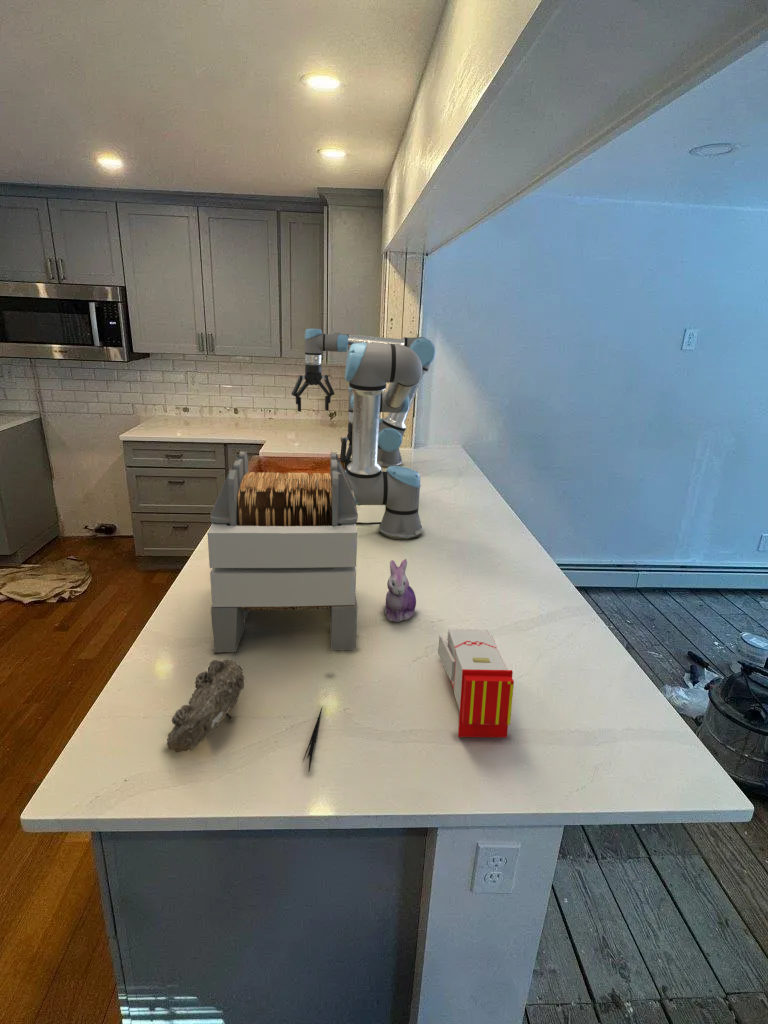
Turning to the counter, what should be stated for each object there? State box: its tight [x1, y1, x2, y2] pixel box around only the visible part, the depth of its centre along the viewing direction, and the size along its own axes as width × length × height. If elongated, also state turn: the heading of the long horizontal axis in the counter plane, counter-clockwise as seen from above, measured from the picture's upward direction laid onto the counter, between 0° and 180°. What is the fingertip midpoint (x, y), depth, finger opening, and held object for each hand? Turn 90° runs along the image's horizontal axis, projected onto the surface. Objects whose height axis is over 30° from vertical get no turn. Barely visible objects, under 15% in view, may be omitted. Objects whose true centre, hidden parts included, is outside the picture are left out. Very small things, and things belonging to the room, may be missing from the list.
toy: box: [437, 628, 515, 738], centre depth 117 cm, size 12×13×30 cm
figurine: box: [384, 558, 417, 623], centre depth 145 cm, size 9×10×15 cm
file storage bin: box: [206, 450, 359, 654], centre depth 137 cm, size 34×33×41 cm
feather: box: [301, 673, 332, 771], centre depth 108 cm, size 2×28×2 cm
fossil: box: [166, 658, 245, 754], centre depth 106 cm, size 22×10×15 cm
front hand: (355, 477), depth 234 cm, fingers closed on tin, 6 cm apart
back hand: (313, 410), depth 266 cm, fingers open, 13 cm apart
